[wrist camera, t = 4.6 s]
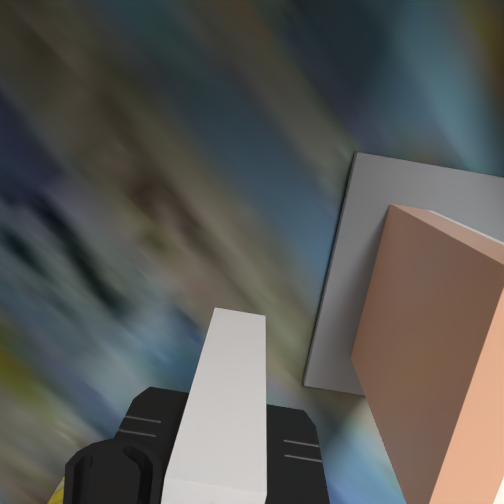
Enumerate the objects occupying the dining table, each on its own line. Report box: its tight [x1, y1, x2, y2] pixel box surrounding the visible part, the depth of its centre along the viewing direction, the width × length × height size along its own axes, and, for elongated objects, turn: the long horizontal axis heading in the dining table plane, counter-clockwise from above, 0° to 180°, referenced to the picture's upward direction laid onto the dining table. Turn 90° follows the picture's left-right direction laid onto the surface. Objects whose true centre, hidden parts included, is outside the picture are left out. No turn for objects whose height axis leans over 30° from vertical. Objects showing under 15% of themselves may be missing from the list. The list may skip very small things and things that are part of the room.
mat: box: [303, 152, 504, 396], centre depth 21 cm, size 14×12×1 cm
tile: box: [351, 204, 504, 504], centre depth 16 cm, size 2×8×10 cm, turn 170°
